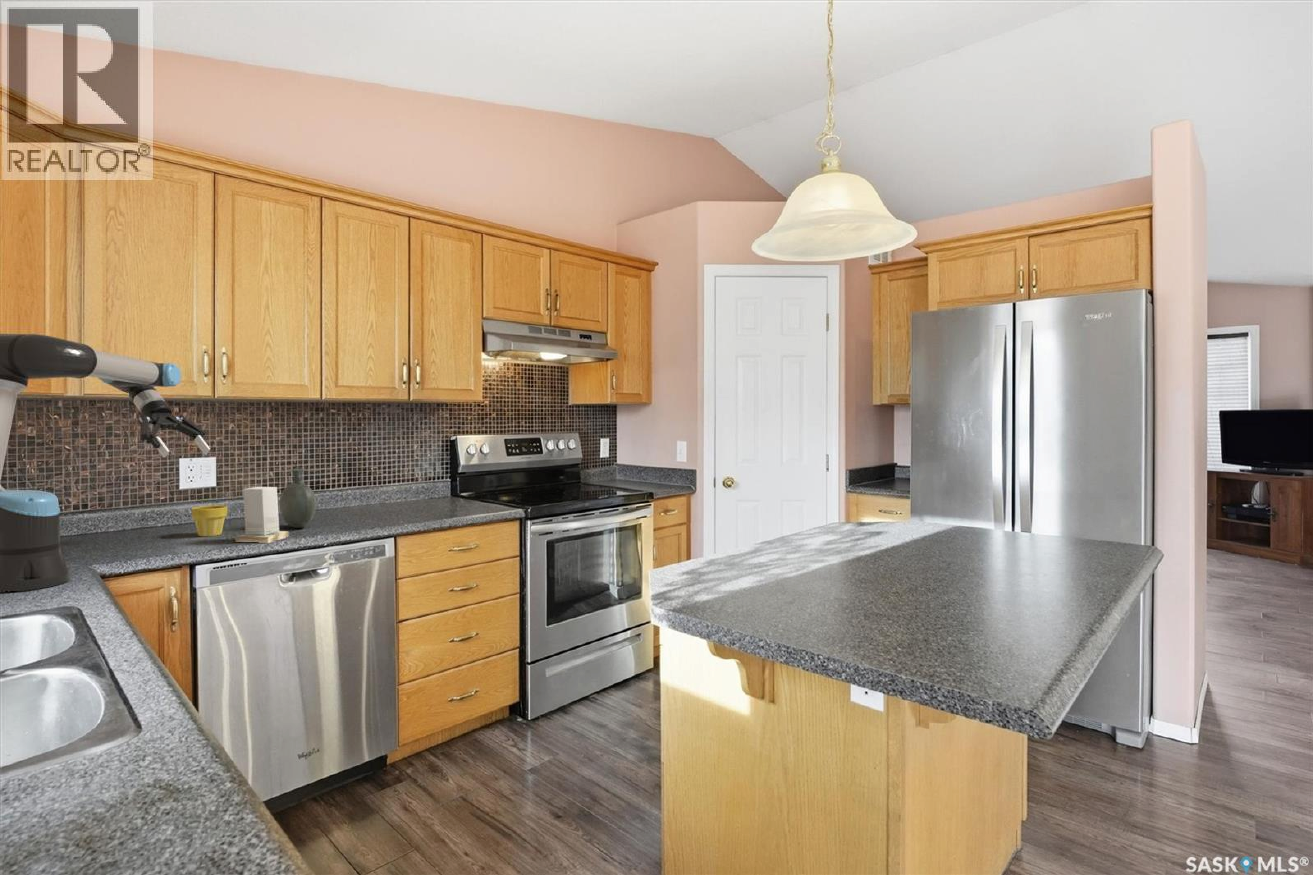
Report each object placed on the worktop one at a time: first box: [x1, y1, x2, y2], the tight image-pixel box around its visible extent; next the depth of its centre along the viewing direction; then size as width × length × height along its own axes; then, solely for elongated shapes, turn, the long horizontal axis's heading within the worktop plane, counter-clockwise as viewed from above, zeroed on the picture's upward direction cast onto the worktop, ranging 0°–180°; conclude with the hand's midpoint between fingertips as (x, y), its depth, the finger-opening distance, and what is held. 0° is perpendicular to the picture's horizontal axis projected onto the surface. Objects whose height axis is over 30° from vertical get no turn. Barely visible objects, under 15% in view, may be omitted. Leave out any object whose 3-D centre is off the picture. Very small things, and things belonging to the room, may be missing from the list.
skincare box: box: [242, 486, 280, 535], centre depth 220 cm, size 8×7×16 cm
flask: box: [278, 468, 317, 529], centre depth 244 cm, size 12×17×22 cm
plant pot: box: [191, 504, 228, 537], centre depth 229 cm, size 10×10×10 cm
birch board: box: [235, 530, 290, 544], centre depth 221 cm, size 11×11×2 cm
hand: (187, 453), depth 214 cm, fingers open, 13 cm apart
